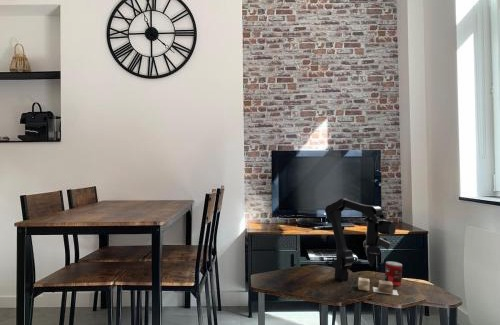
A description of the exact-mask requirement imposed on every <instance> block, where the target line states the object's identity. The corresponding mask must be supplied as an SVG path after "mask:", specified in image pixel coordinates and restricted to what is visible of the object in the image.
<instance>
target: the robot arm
mask: <svg viewBox="0 0 500 325" xmlns="http://www.w3.org/2000/svg"><path fill="white" fill-rule="evenodd" d="M346 208H348V209H350V210H353V211H356V212H359V213H362V214H363V215H364V216H365V217H366V218H364V219H363V222H366V232H365V240H364V241H363V243H362V244H363V249H364V252H365V255H366V259H367V262H368V264H369V266H370V267H371V268H373V267H374V263H375V260H376V257H377V256H379V255H380V254H381V248H380V247H382V248H383V249H385V250H389V249H390V246H391V242H390V241H388V238H386V237H385V236H389V237H393V236H394V235H395V234H396V230H397V229H396V226H395V224H394V221H393V220H388V219H386V216H385V215H384V212H383V209H382V207H381V206H379V205H378V206H377V205H368V204H363V203H359V202H357V201H353V200H350V199H349V198H340V199H338V200H337V201H335V202H333V203H331V204H329V205H327V206H325V209H324V212H325V216H326V217H327V219H328V220H329V222H330V223H331V226H332V227H331V228H332V231H333V236H334V237H333V238H334V240H335V245H336V255H335V258H336V259H335V260H334V261H333V262H332V263H331V265H332V268H333V269H334V277H333V281H338V282H348V280H349V272H350V271H349V269H351V266H352V265H353V264H354V259H355V257H354V254H353V250H350V249H349V248H348V247H347V242H346V239H345V234H344V231H343V230H344V229H343V226H342V222H341V219H342V216H343V215H342V212H343V211H344V210H345V209H346ZM380 235H384V237H383V238H381V236H380Z"/></svg>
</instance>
